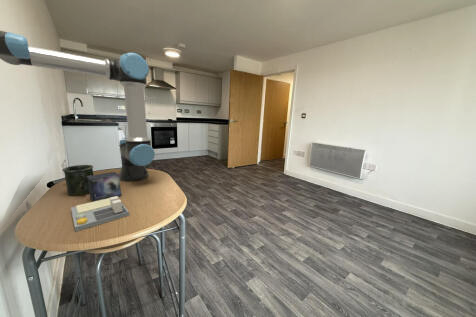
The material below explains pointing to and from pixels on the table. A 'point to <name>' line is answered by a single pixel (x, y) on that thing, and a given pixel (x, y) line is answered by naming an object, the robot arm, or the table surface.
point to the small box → (104, 186)
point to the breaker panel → (95, 214)
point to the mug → (78, 179)
